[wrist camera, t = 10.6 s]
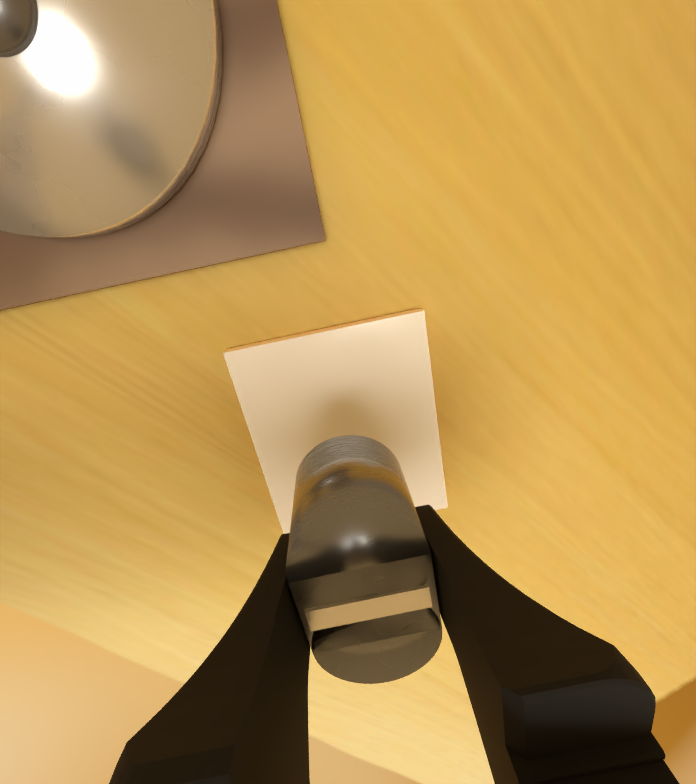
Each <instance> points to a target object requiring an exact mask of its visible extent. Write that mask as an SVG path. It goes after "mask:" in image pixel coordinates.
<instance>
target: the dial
mask: <svg viewBox="0 0 696 784" xmlns="http://www.w3.org/2000/svg"><path fill="white" fill-rule="evenodd" d="M221 77H222V33H221V24H220V15H219V7H218V1H217V0H0V230H2V231H6V232H10V233H14V234H20V235H29V236H39V237H57V238H72V237H90V236H96V235H102V234H108V233H111V232H114V231H117V230H120V229H123V228H126V227H129V226H131V225H133V224H135V223H137V222H139V221H140V220H142V219H144V218H146V217H148V216H149V215H151V214H152V213H153V212H155V211H156V210H158V209H159V208H160V207H162V206H163V205H164V204H165V203H166V202H167V201H168V200H169V199H170V198H171V197H172V196H173V195H174V194H175V193H176V192H177V191H178V190H179V189H180V188H181V187H182V185H183V184H184V183H185V181H186V180H187V178H188V177H189V176H190V174H191V173H192V172H193V170H194V168H195V166H196V164H197V163H198V161H199V159H200V157H201V155H202V153H203V151H204V149H205V147H206V144H207V141H208V138H209V136H210V133H211V130H212V127H213V124H214V120H215V115H216V111H217V106H218V102H219V97H220V87H221Z"/></svg>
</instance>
